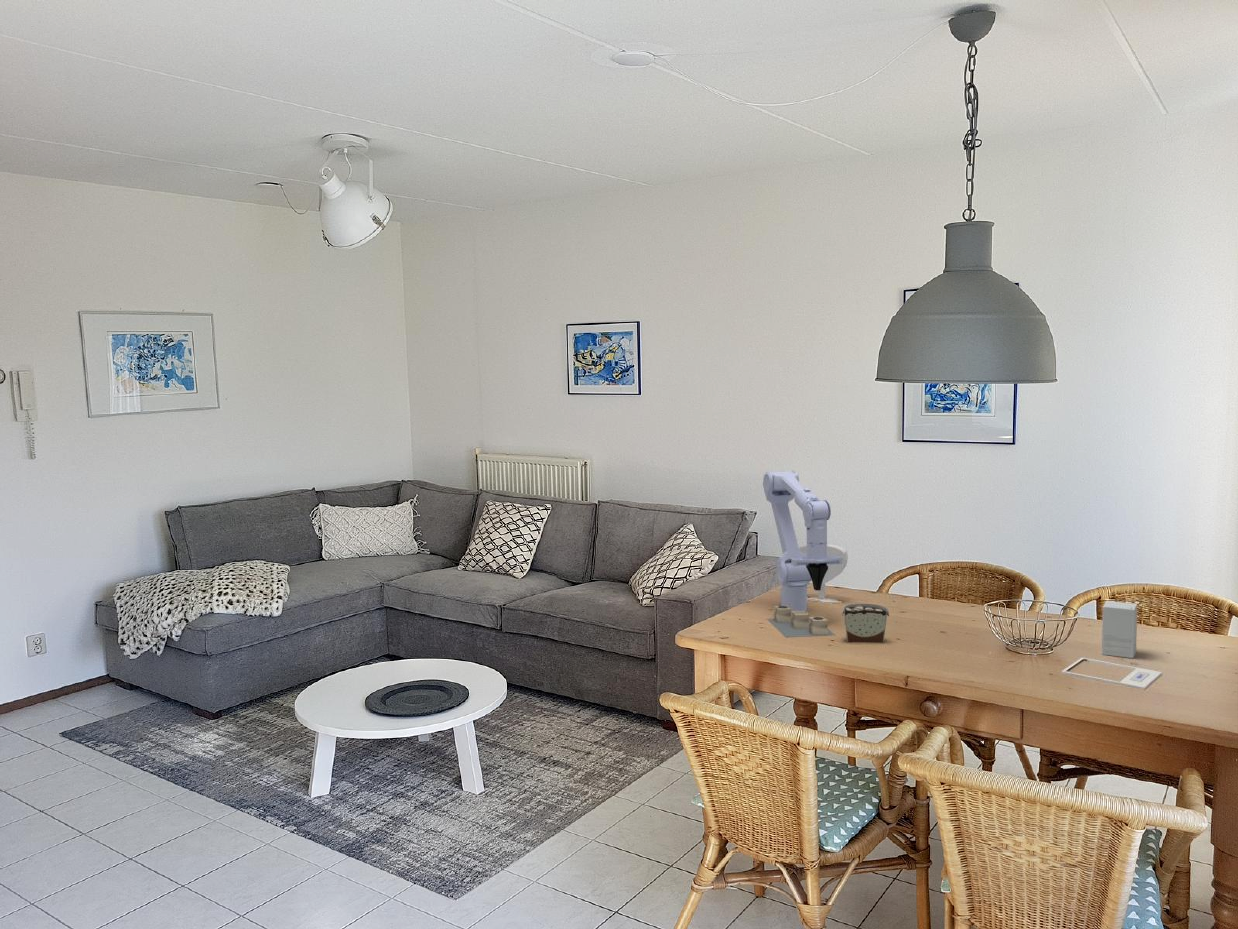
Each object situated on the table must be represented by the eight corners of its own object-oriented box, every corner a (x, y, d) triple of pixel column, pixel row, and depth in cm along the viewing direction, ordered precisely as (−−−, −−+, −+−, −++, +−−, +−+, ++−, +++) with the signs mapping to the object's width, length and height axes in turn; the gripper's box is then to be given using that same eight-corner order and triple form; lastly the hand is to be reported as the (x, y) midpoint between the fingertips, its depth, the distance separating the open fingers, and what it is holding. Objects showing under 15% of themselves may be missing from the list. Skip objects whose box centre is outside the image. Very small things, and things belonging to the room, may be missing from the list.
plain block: (791, 625, 271) (791, 611, 271) (804, 624, 272) (804, 610, 271) (795, 628, 267) (795, 615, 267) (809, 628, 268) (809, 614, 268)
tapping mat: (766, 621, 279) (766, 618, 279) (812, 619, 280) (812, 616, 280) (786, 640, 259) (786, 637, 259) (835, 638, 261) (835, 635, 261)
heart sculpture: (848, 601, 302) (848, 545, 300) (843, 604, 297) (844, 547, 296) (800, 596, 309) (800, 541, 307) (795, 599, 305) (795, 544, 303)
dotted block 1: (774, 619, 278) (774, 605, 278) (787, 618, 278) (787, 604, 278) (777, 622, 274) (777, 608, 274) (791, 622, 274) (791, 608, 274)
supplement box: (1136, 651, 244) (1138, 603, 243) (1133, 659, 238) (1135, 609, 237) (1104, 647, 248) (1106, 599, 247) (1100, 654, 242) (1102, 605, 241)
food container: (885, 639, 259) (885, 603, 258) (889, 645, 253) (889, 608, 252) (838, 638, 260) (839, 602, 259) (841, 645, 254) (842, 608, 253)
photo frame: (1144, 686, 216) (1061, 670, 228) (1144, 691, 216) (1061, 675, 228) (1161, 671, 226) (1081, 656, 238) (1161, 676, 226) (1081, 661, 239)
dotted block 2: (808, 631, 265) (809, 616, 264) (822, 630, 265) (822, 616, 265) (813, 635, 261) (813, 620, 260) (827, 634, 261) (827, 619, 261)
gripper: (796, 546, 267) (796, 593, 268) (846, 544, 269) (846, 591, 270) (789, 542, 274) (789, 588, 275) (837, 540, 276) (837, 586, 277)
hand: (817, 589), depth 273 cm, fingers closed
